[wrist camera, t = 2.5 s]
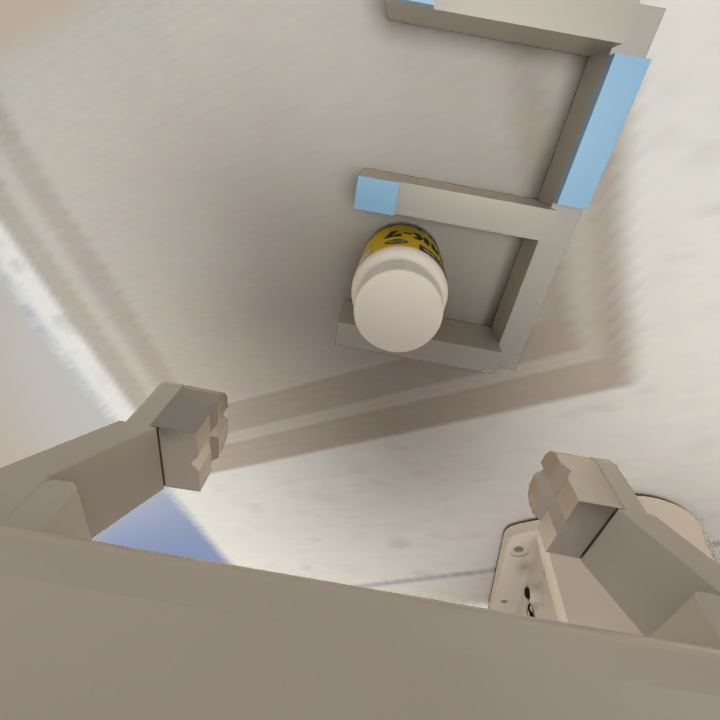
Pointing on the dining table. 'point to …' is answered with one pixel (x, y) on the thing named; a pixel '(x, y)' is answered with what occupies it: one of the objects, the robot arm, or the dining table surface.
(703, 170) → the dining table surface
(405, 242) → the supplement bottle
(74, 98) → the dining table surface
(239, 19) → the dining table surface
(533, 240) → the blue-tipped e-shaped rack
